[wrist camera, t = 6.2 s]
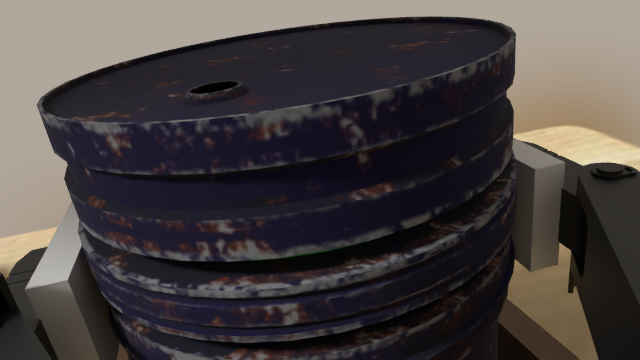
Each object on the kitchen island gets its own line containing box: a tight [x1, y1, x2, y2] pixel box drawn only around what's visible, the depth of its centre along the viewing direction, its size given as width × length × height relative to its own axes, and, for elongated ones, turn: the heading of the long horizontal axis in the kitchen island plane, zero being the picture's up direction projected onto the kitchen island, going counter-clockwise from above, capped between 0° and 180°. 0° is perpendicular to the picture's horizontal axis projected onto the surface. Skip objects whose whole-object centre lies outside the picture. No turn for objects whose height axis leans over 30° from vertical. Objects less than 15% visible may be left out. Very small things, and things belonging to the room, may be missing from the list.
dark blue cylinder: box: [37, 17, 517, 360], centre depth 14 cm, size 10×10×15 cm
